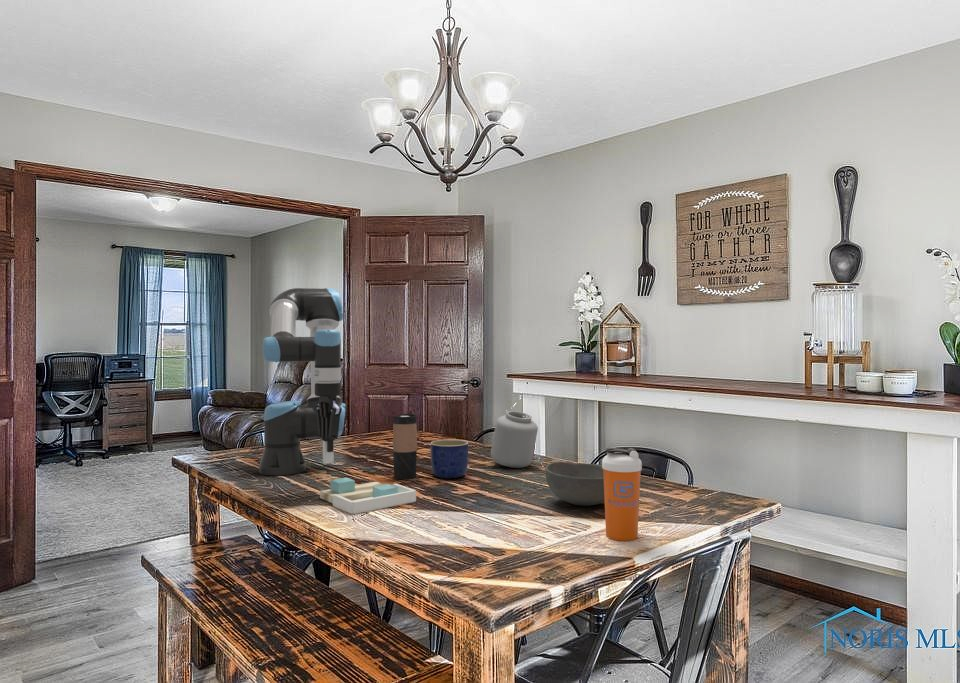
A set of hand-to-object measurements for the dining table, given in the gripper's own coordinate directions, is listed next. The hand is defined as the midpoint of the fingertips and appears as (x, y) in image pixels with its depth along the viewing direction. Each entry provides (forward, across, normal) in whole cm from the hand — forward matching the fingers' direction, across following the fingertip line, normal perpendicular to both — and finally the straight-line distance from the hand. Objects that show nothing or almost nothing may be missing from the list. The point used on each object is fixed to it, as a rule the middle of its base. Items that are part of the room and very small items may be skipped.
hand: (328, 462), depth 187 cm
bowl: (+10, +56, +47) cm, 74 cm away
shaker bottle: (+10, +80, +33) cm, 88 cm away
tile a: (+8, +18, +8) cm, 22 cm away
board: (+9, +10, +4) cm, 14 cm away
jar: (+9, +8, +67) cm, 68 cm away
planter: (+9, +6, +40) cm, 41 cm away
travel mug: (+9, -2, +28) cm, 30 cm away
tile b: (+7, +8, 0) cm, 11 cm away
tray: (+9, +20, +4) cm, 22 cm away
